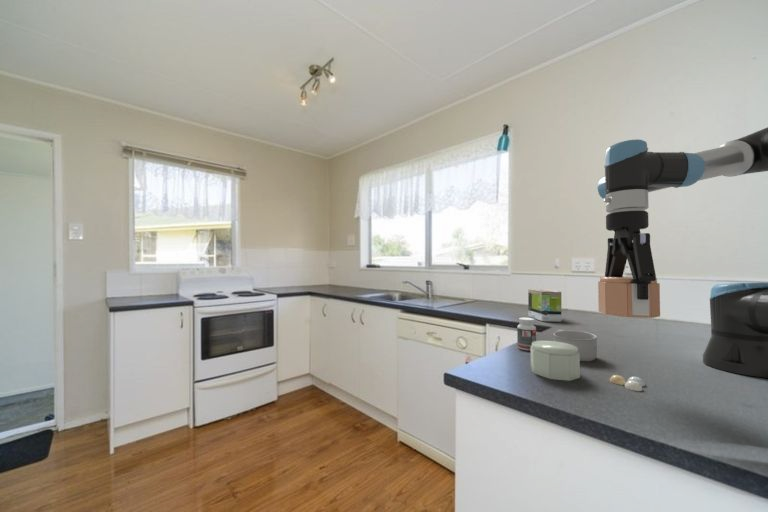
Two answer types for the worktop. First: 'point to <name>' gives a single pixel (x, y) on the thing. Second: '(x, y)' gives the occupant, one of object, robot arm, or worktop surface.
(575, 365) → the sage acorn nut
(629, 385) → the marble cream
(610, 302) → the peach acorn nut
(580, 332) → the teacup
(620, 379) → the marble amber
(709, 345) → the robot arm
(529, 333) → the pill bottle
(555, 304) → the tea box
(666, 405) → the worktop surface
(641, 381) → the marble bluegrey
